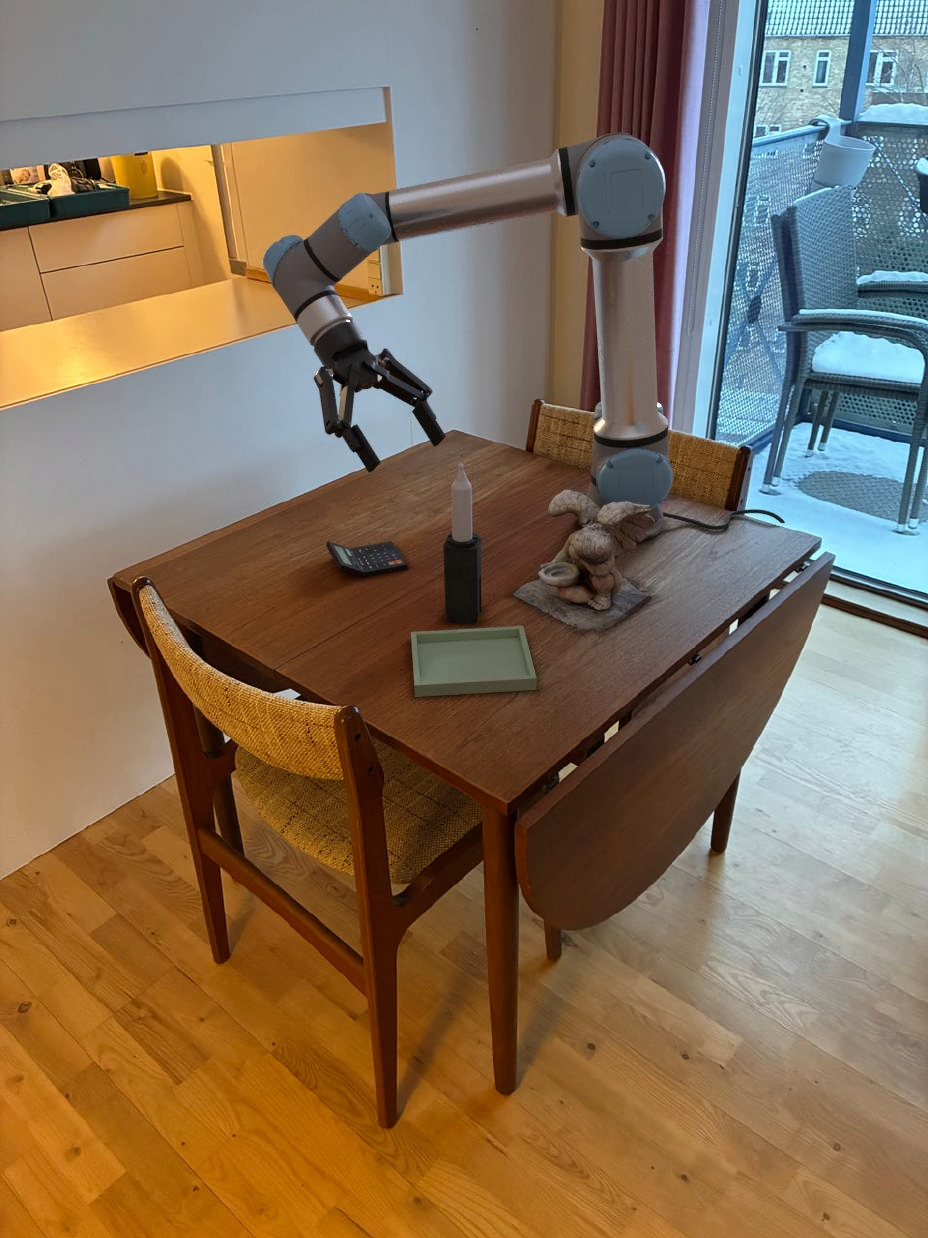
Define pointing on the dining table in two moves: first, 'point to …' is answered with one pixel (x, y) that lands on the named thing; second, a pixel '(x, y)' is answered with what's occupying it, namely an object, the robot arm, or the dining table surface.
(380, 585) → the dining table surface
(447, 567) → the candle
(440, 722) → the dining table surface
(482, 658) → the tray
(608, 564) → the cherub figurine
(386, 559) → the calculator
